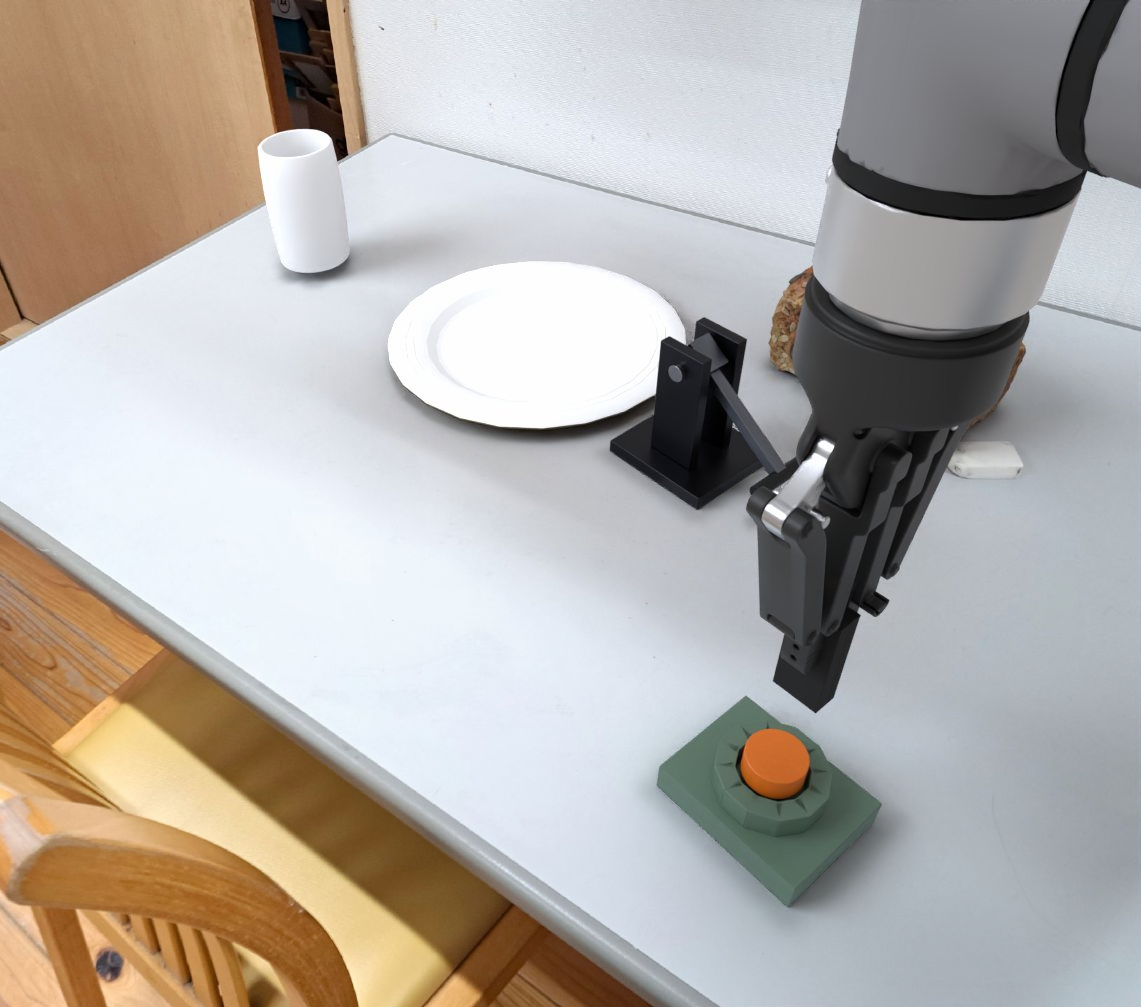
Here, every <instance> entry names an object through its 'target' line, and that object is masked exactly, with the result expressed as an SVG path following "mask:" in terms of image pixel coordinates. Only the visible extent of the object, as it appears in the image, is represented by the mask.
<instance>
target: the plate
mask: <svg viewBox="0 0 1141 1007" xmlns="http://www.w3.org/2000/svg"><path fill="white" fill-rule="evenodd" d="M668 336H670V337H672V338H674V339H676V340H678V341H679V342H681V343H683V344H685V345H687V338H686V328H685V326H684V324H683V322H682V320H681V318H680V316H679V315H678V313H677V311H676V309H675V307H673V306H672V305H671V304H670V303H669V302H668V301H667V300H665V299H664V298H663V297H662V296H661V295H660V294H659V293H658V292H657V291H656V290H654V289H652V288H651V287H648V286H647V285H644V284H643V283H641V282H639V281H637V280H636V279H634V278H632V277H630V276H628V275H624V274H621V273H619V272H615V271H612V270H609V269H605V268H602V267H599V266H595V265H588V264H582V263H581V264H580V263H575V262H570V261H569V262H568V261H550V260H549V261H547V260H544V261H543V260H541V261H540V260H527V261H517V262H509V263H508V262H507V263H500V264H494V265H493V264H492V265H489V266H485V267H481V268H478V269H473V270H469V271H466V272H463V273H460V274H458V275H455V276H453V277H450V278H449V279H446V280H444V281H441V282H440V283H437V284H434V285H432V286H431V287H430V288H428V289H427V290H425V291H424V292H423V293H421V294H420V295H418V296H417V297H416V298H414V299H412V300H411V301H410V302H409V303H408V304H407V306H406V307H405V308H404V309H403V310H402V311H401V312H400V314H399V315H398V316H397V317H396V318H395V319H394V322H393V325H392V327H391V330H390V333H389V336H388V338H387V350H388V361H389V365H390V367H391V369H392V370H393V373H394V374H395V376H396V377H397V378H398V380H399V382H400V384H401V385H402V387H404V389H406V390H407V391H408V392H410V393H411V394H412V395H414V396H415V397H416V398H417V399H419V401H421V402H422V403H424V404H425V405H426V406H428V407H430V408H433V409H436V410H438V411H440V412H442V413H444V414H446V415H449V416H451V417H454V418H456V419H458V420H461V421H465V422H471V423H474V424H480V425H484V426H488V427H493V428H498V429H514V430H515V429H516V430H536V431H546V430H552V429H561V428H562V429H563V428H570V427H577V426H586V425H589V424H594V423H596V422H599V421H602V420H606V419H608V418H611V417H616V416H619V415H623V414H625V413H627V412H629V411H630V410H632V409H634V408H636V407H637V406H640V405H641V404H643V403H645V402H647V401H648V400H650V399H652V398H653V397H655V396H656V386H657V376H658V365H659V355H660V344H661V340H663V339H665V338H667V337H668Z"/></svg>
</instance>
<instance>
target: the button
mask: <svg viewBox="0 0 1141 1007" xmlns="http://www.w3.org/2000/svg"><path fill="white" fill-rule="evenodd" d="M809 765H810V758H809V754H808V752H807V750H806V748H805V746H804V745H803V743H802V742H801V741H800V740H799V739H797V738H796V737H795V736H793V735H792V734H790V733H788V732H785V731H782V730H778V729H764V730H760V731H758V732H756V733H754V734H753V735H752V736H751V737H750V738H749V739H748V740H747V742H746V744H745V748H744V752H743V756H742V760H741V773H742V776H743V778H744V780H745V781H746V783H747V784H748V785H749V786H750V787H751V788H752V789H753V790H754V791H755V792H757V793H758V794H760V795H762V796H765V797H768V798H772V799H784V798H788V797H791V796H793V795H795V794H796V793H797V792H799V790H800V789H801V788H802V786H803V784H804V781H805V778H806V775H807V772H808V769H809Z"/></svg>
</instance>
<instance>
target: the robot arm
mask: <svg viewBox="0 0 1141 1007" xmlns="http://www.w3.org/2000/svg"><path fill="white" fill-rule="evenodd" d="M855 33H856V34H855V38H854V40H855V41H854V45H853V51H852V58H851V65H850V70H849V77H848V82H847V88H846V94H845V98H844V103H843V104H844V105H843V108H842V109H843V110H842V114H841V115H842V116H841V121H840V126H839V128H838V129H837V131H836V139H835V143H834V147H833V152H832V156H831V162H832V164H831V165H830V166H829V168H828V169H827V170H826V174H825V179H824V182H825V184H826V185H827V187H826V192H825V197H824V202H823V207H822V212H821V216H820V220H819V226H818V229H817V235H816V240H815V245H814V249H813V254H812V260H811V264H812V265H813V271H814V273H813V275H812V276H811V277H810V278H809V280H808V282H807V284H806V288H805V292H804V297H803V302H802V307H801V312H800V317H799V322H798V328H797V333H796V338H795V343H794V348H793V355H792V360H793V366H794V370H795V373H796V375H797V376H796V375H795V376H796V377H797V379H798V381H799V383H800V385H801V387H802V389H803V390H804V393H805V395H806V397H807V399H808V402H809V404H810V406H811V413H810V415H809V417H808V420H807V423H806V424H805V427H804V429H803V431H802V433H801V435H800V437H799V439H798V441H797V444H796V447H795V456H796V459H797V462H798V464H799V465H800V467H799V468H798V469H797V471H796V472H795V473H794V474H793V476H792V477H791V478H790V479H789V480H788V481H786V482H785V483H784V485H783V487H781V486H779V487H777V488H776V489H775V490H773V491H771V490H769V489H768V488H766V487H765V486H762V487H759V488H758V489H757V490H755V491H754V493H753V494H752V495H751V494H750V497H749V498H748V501H747V502H746V506H745V510H746V513H747V514H748V516H749V517H750V519H751V520H752V521H753V523H754V524H755V525H756V530H757V534H756V535H757V564H758V565H757V570H758V571H757V572H758V595H759V596H758V602H759V604H758V605H759V617H760V618H761V619H763V620H764V621H765V622H766V623H768V624H770V626H773V627H774V628H775V629H776V630H777V631H779V632H781V633H783V638H782V642H781V646H780V650H779V654H778V657H777V661H776V666H775V669H774V674H773V678H772V682H773V683H774V684H775V685H777V686H778V687H779V688H781V689H782V690H783V691H785V692H786V693H788V694H789V695H790V696H791V697H793V698H794V699H795V700H797V701H798V702H799V703H801V704H802V705H804V707H806V708H807V709H809V710H810V711H811V712H813V713H814V714H815V715H816V714H817V713H819V712H820V711H821V710H822V709H823V708H824V707H825V706H826V705H827V704H828V703H830V702H831V701H832V700H833V699H834V698H835V695H836V692H837V689H838V686H839V683H840V680H841V677H842V674H843V670H844V668H845V665H846V662H847V659H848V655H849V652H850V650H851V646H852V642H853V640H854V637H855V634H856V630H857V628H858V624H859V622H860V618H861V614H860V613H859V609H861V610H863V611H864V612H866V613H867V614H869V615H870V616H872V617H873V618H878V617H879V616H880V615H881V614H883V613H884V611H885V610H886V608H887V606H888V605H889V603H890V601H891V600H890V599H889V598H887V597H886V596H885V595H883V594H881V593H879V592H878V591H877V589H878V586H879V583H880V579H881V578H883V579H884V580H886V581H888V580H890V579H892V578H893V577H895V576H896V575H897V574H898V572H899V571H900V568H901V566H902V563H903V561H904V559H905V557H906V555H907V552H908V550H909V549H910V546H911V544H912V542H913V541H914V540H913V539H914V538H915V536H916V533H917V531H918V529H919V527H920V526H921V523H922V520H923V519H924V517H925V514H926V512H927V510H928V508H929V506H930V504H931V502H932V500H933V498H934V496H935V494H936V491H937V489H938V487H939V485H940V483H941V481H942V479H943V476H944V474H945V472H946V470H947V468H948V466H949V464H950V462H951V460H952V458H953V456H954V453H955V451H956V449H957V447H958V445H959V442H960V441H961V440H962V437H963V436H964V434H965V433H966V432H967V430H968V429H969V428H968V426H969V425H970V423H971V422H972V421H973V420H975V419H977V418H978V417H980V416H982V415H983V414H985V413H986V412H987V411H989V410H990V409H991V408H992V407H993V406H994V405H995V404H996V402H997V401H998V400H999V398H1000V397H1001V395H1002V393H1003V390H1004V388H1005V385H1006V383H1007V380H1008V377H1009V375H1010V372H1011V370H1012V367H1013V364H1014V362H1015V359H1016V357H1017V354H1018V351H1019V349H1020V346H1021V344H1022V343H1023V341H1024V338H1025V335H1026V333H1027V330H1028V328H1029V325H1030V320H1031V316H1030V311H1031V310H1032V309H1033V308H1035V306H1037V305H1038V303H1039V302H1040V299H1041V298H1042V296H1043V294H1044V291H1045V289H1046V286H1047V284H1048V280H1049V278H1050V276H1051V273H1052V270H1053V266H1054V265H1055V261H1056V259H1057V257H1058V254H1059V251H1060V248H1061V246H1062V243H1063V240H1064V237H1065V235H1066V233H1067V230H1068V227H1069V224H1070V222H1071V219H1072V216H1073V213H1074V211H1075V208H1076V206H1077V203H1078V200H1079V197H1080V195H1081V192H1082V191H1083V190H1082V188H1083V185H1084V181H1085V178H1086V176H1087V173H1088V172H1089V173H1091V174H1094V175H1097V176H1098V177H1101V178H1105V179H1106V178H1107V179H1114V180H1116V181H1118V182H1121V183H1124V184H1127V185H1129V186H1133V187H1135V188H1138V189H1141V0H861V1H860V8H859V14H858V21H857V27H856V32H855ZM812 265H811V266H812ZM967 428H968V429H967Z"/></svg>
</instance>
